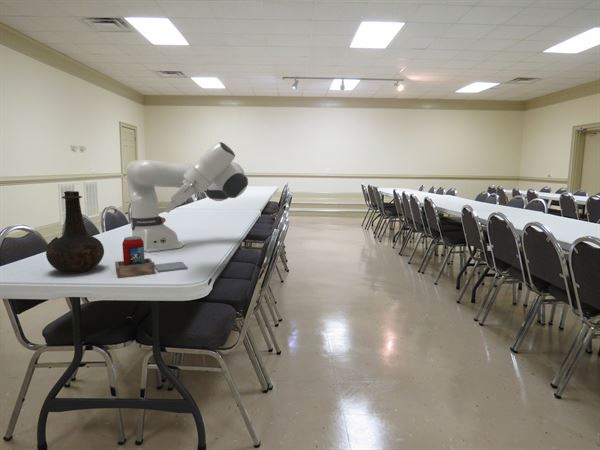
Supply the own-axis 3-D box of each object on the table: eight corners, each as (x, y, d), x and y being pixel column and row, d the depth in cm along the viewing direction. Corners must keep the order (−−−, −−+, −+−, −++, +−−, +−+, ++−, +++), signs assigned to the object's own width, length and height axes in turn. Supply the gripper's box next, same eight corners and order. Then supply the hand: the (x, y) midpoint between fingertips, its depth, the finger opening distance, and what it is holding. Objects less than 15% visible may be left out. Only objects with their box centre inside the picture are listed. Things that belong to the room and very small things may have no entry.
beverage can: (137, 274, 136) (135, 239, 135) (120, 273, 138) (117, 239, 136) (149, 269, 143) (147, 236, 141) (132, 268, 144) (129, 235, 143)
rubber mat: (182, 263, 153) (181, 261, 152) (187, 268, 144) (187, 267, 144) (154, 266, 148) (154, 264, 148) (158, 272, 139) (158, 270, 139)
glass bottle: (58, 265, 150) (51, 190, 146) (110, 262, 154) (104, 189, 150) (39, 278, 132) (30, 193, 128) (98, 275, 136) (91, 191, 132)
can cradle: (150, 266, 148) (149, 256, 148) (154, 273, 138) (154, 262, 137) (115, 269, 143) (114, 259, 142) (117, 277, 133) (116, 266, 132)
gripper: (201, 188, 130) (171, 219, 130) (204, 186, 150) (178, 213, 150) (186, 175, 129) (155, 206, 128) (191, 174, 149) (165, 201, 148)
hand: (168, 209), depth 139 cm, fingers open, 8 cm apart
